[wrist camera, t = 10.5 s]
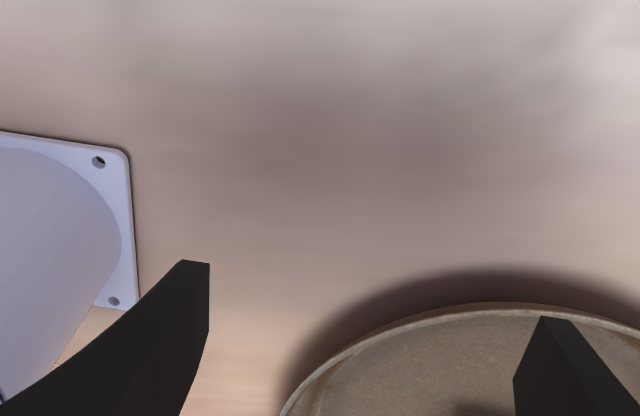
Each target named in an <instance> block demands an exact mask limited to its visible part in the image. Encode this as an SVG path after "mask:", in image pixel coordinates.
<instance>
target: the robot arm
mask: <svg viewBox="0 0 640 416" xmlns="http://www.w3.org/2000/svg"><path fill="white" fill-rule="evenodd" d="M96 156H98V157H101V158H102V159H103V160H104V161H105V163H106V164H103V163H100V162H99V161H98V160H97V158H96ZM209 274H210V264H209V263H202V262H196V261H190V260H183V259H182V260H180V261H179V262H177V263H176V264H175V265H174V266H173V267H172V268H171V269H170V270H169V272H168V273H167V274H166V275H165V276H164V277H163V278H162V279H161V280H160V281H159V282H158V283H157V284H156V285H155V286H154V287H153V288H152V289H150V290H149V291H148V292H147V293H146V294H145V295H144V296H143V297H142V298H141V299H140V300H139V292H138V279H137V266H136V253H135V240H134V227H133V214H132V201H131V188H130V175H129V162H128V159H127V157H126V155H125V154H124V153H123V152H121V151H120V150H117V149H114V148H108V147H101V146H94V145H88V144H81V143H75V142H68V141H62V140H55V139H48V138H42V137H35V136H29V135H22V134H16V133H9V132H2V131H0V416H179V414H180V412H181V409H182V407H183V405H184V402H185V400H186V397H187V395H188V393H189V390H190V388H191V385H192V383H193V381H194V378H195V376H196V373H197V370H198V367H199V363H200V360H201V357H202V353H203V350H204V346H205V343H206V339H207V336H208V332H209ZM113 297H115V298H117V299H118V300H117V299H115V298H113ZM92 305H93V306H100V307H106V308H112V309H119V310H125V311H127V312H126V313H125V314H124V315H122V316H121V317H120V318H119V319H118V320H117V321H116V322H115V323H113V324H112V325H111V326H110V327H109V328H107V329H106V330H105V331H104V332H103V333H101V334H100V335H99V336H98V337H96V338H95V339H94V340H93V341H91V342H90V343H89V344H88V345H87V346H85V347H84V348H83V349H82V350H80V351H79V352H78V353H76V354H75V355H74V356H72V357H71V358H70V359H68V360H67V361H66V362H64V363H63V364H61V365H60V366H59V367H57V368H56V369H54V370H53V371H51V370H52V368H53V366H54V365H55V363H56V362H57V360H58V358H59V357H60V355H61V354H62V352H63V351H64V349H65V347H66V346H67V344H68V343H69V341H70V339H71V338H72V336H73V335H74V333H75V331H76V330H77V328H78V327H79V325H80V324H81V322H82V320H83V319H84V317H85V316H86V314H87V312H88V311H89V309H90V308H91V306H92ZM50 371H51V372H50ZM512 380H513V392H514V404H515V413H516V416H640V405H639V403H638V402H637V401H636V400H635V399H634V398H633V396H632V395H631V394H630V393H629V392H628V391H627V389H626V388H625V387H624V386H623V385H622V383H621V382H620V381H619V380H618V379H617V377H616V376H615V375H614V374H613V372H612V371H611V370H610V369H609V368H608V366H607V365H606V364H605V363H604V361H603V360H602V359H601V358H600V356H599V355H598V354H597V353H596V351H595V350H594V349H593V348H592V346H591V345H590V344H589V343H588V341H587V340H586V339H585V338H584V337H583V335H582V334H581V333H580V332H579V330H578V329H577V328H576V327H575V326H574V324H573V323H572V322H571V321H570V320H568V319H562V318H555V317H549V316H542V315H541V316H540V318H539V321H538V323H537V325H536V327H535V330H534V332H533V334H532V336H531V339H530V341H529V343H528V345H527V348H526V350H525V352H524V354H523V357H522V359H521V361H520V363H519V366H518V368H517V370H516V372H515V375H514V377H513V379H512Z"/></svg>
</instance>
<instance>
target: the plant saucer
mask: <svg viewBox="0 0 640 416" xmlns="http://www.w3.org/2000/svg"><path fill="white" fill-rule="evenodd" d="M541 315H542V316H549V317H555V318H562V319H568V320H570V321H571V322H572V323H573V324H574V326H575V327H576V328H577V329H578V330H579V332H580V333H581V334H582V335H583V337H584V338H585V339H586V340H587V341H588V343H589V344H590V345H591V346H592V348H593V349H594V350H595V351H596V353H597V354H598V355H599V356H600V358H601V359H602V360H603V361H604V363H605V364H606V365H607V366H608V368H609V369H610V370H611V371H612V372H613V374H614V375H615V376H616V377H617V379H618V380H619V381H620V382H621V383H622V385H623V386H624V387H625V388H626V389H627V391H628V392H629V393H630V394H631V395H632V396H633V398H634V399H635V400H636V401H637V402H638V403H639V405H640V330H639V329H637V328H634V327H631V326H629V325H626V324H624V323H621V322H619V321H616V320H613V319H610V318H607V317H604V316H601V315H597V314H593V313H590V312H586V311H582V310H577V309H573V308H568V307H562V306H556V305H548V304H540V303H529V302H479V303H468V304H459V305H453V306H447V307H442V308H437V309H433V310H428V311H424V312H420V313H417V314H413V315H410V316H407V317H404V318H401V319H398V320H395V321H393V322H390V323H388V324H386V325H383V326H381V327H378V328H376V329H374V330H372V331H370V332H368V333H367V334H365V335H363V336H361V337H359V338H357V339H356V340H354V341H352V342H351V343H349V344H348V345H346V346H345V347H343V348H342V349H340V350H339V351H337V352H336V353H335V354H333V355H332V356H330V357H329V358H328V359H327V360H326V361H324V362H323V363H322V364H321V365H319V366H318V367H317V368H316V369H315V370H314V371H313V372H312V373H311V374H310V375H309V376H308V377H307V378H306V379H305V380H304V381H303V382H302V383H301V384H300V385H299V386H298V388H297V389H296V390H295V391H294V393H293V394H292V395H291V396H290V398H289V399H288V400H287V402H286V403H285V405H284V407H283V408H282V410H281V412H280V414H279V416H516V413H515V404H514V392H513V380H512V379H513V377H514V375H515V372H516V370H517V368H518V366H519V363H520V361H521V359H522V357H523V354H524V352H525V350H526V348H527V345H528V343H529V341H530V339H531V336H532V334H533V332H534V330H535V327H536V325H537V323H538V321H539V318H540V316H541Z"/></svg>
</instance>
